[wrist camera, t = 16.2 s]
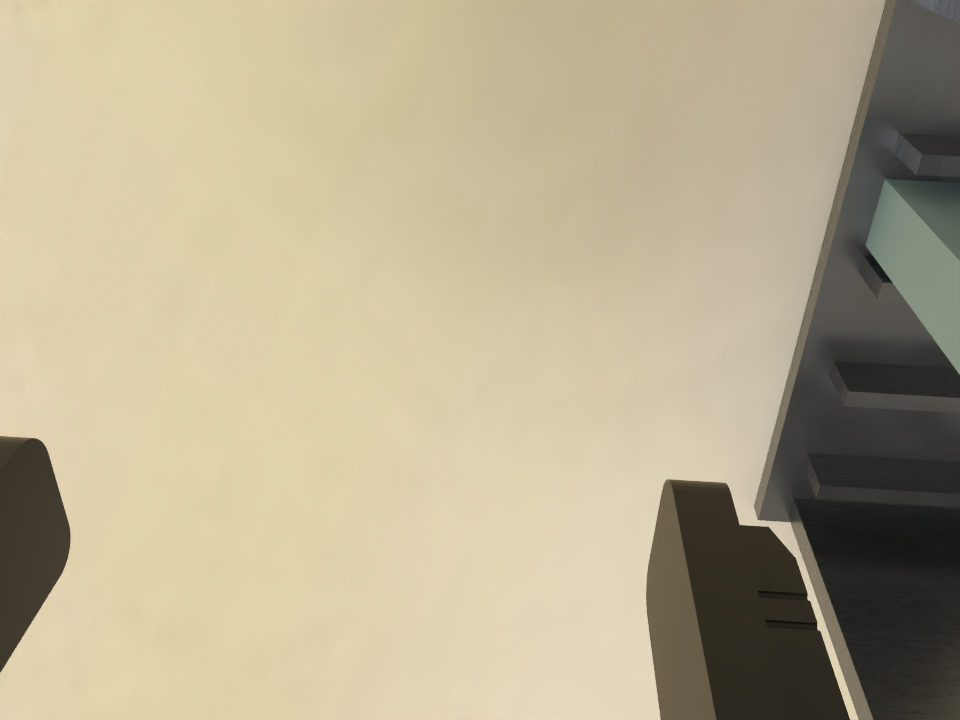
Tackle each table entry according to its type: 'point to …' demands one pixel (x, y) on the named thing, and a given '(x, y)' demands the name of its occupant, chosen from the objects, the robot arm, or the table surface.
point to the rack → (880, 402)
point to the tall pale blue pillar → (923, 253)
